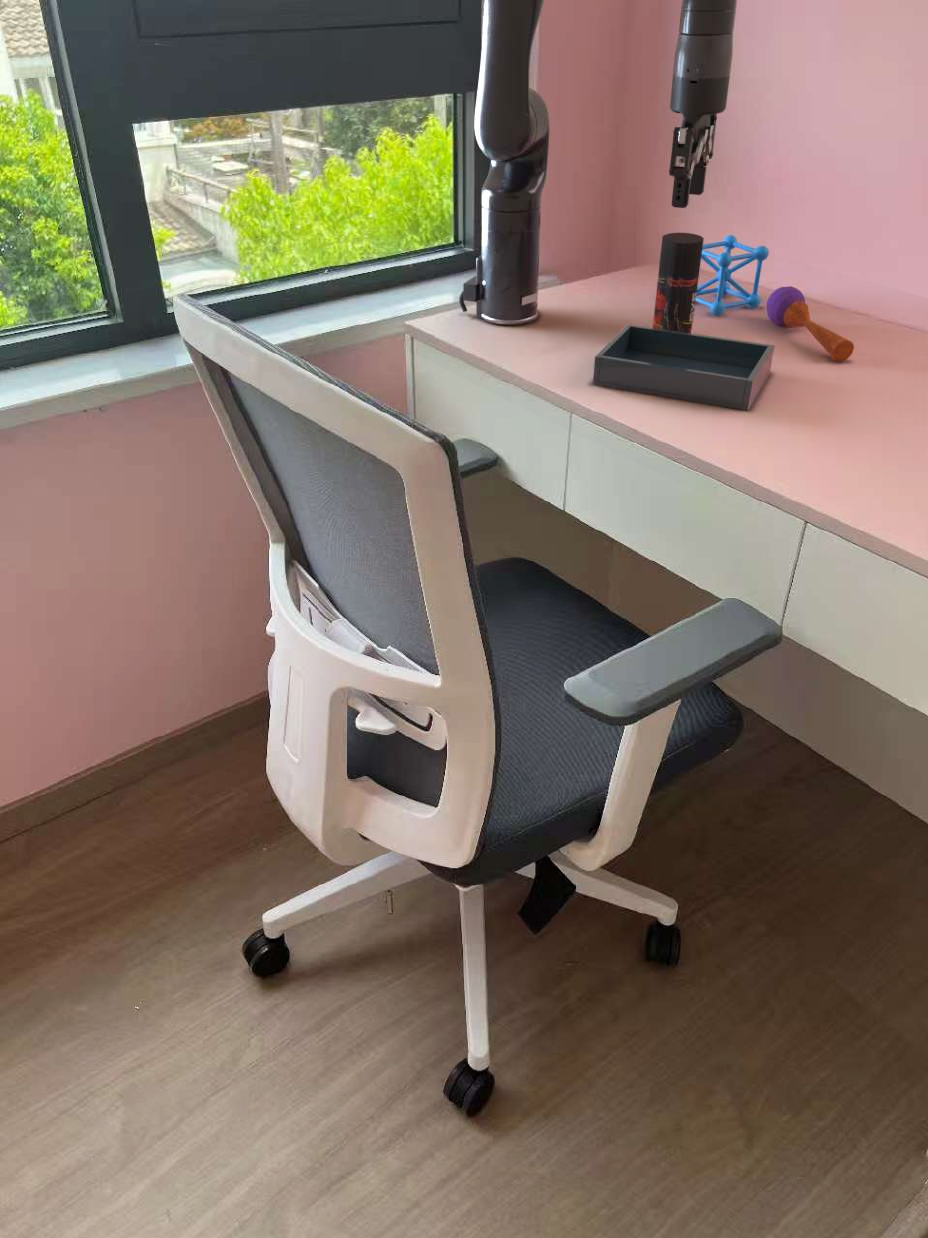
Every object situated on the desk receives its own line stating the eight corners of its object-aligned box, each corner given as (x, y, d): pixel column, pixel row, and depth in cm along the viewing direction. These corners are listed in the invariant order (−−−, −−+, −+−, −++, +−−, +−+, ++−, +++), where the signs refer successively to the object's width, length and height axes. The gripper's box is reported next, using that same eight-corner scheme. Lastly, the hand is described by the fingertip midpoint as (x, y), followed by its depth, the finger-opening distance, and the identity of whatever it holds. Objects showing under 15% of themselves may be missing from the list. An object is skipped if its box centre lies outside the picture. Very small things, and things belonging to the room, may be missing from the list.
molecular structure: (677, 301, 167) (684, 240, 161) (723, 292, 171) (731, 232, 165) (715, 318, 160) (724, 255, 154) (762, 308, 164) (773, 246, 158)
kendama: (825, 337, 141) (759, 286, 156) (822, 374, 145) (758, 321, 160) (864, 326, 141) (794, 276, 156) (860, 364, 145) (792, 311, 160)
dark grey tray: (592, 384, 138) (594, 356, 135) (625, 350, 148) (627, 323, 146) (747, 410, 130) (752, 381, 128) (769, 372, 141) (774, 345, 138)
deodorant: (690, 345, 150) (703, 244, 141) (650, 343, 151) (661, 242, 142) (690, 332, 155) (703, 233, 146) (652, 330, 156) (663, 231, 147)
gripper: (688, 64, 138) (675, 188, 148) (659, 77, 128) (647, 209, 137) (741, 66, 135) (725, 192, 145) (716, 79, 125) (700, 213, 134)
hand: (687, 200), depth 141 cm, fingers open, 8 cm apart
